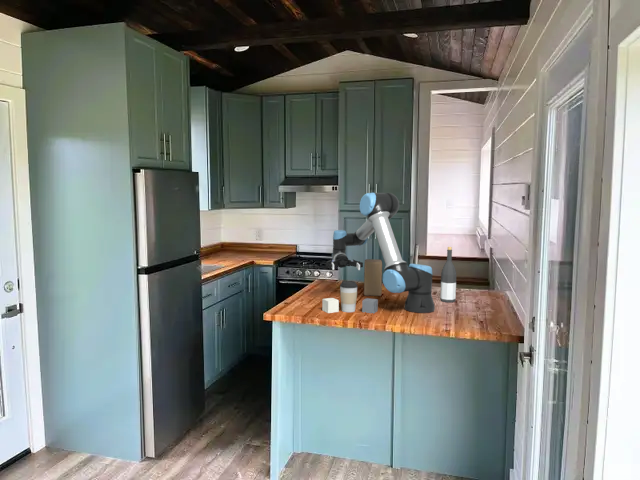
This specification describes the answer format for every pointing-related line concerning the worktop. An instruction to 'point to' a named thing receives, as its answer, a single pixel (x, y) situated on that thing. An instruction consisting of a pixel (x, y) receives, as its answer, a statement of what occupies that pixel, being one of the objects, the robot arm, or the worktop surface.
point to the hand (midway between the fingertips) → (346, 267)
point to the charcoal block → (370, 305)
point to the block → (373, 277)
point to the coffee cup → (348, 295)
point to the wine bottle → (448, 280)
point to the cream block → (330, 305)
